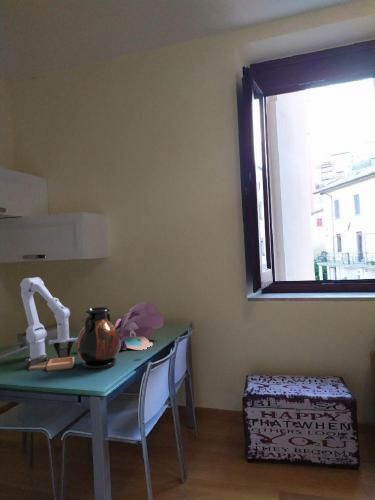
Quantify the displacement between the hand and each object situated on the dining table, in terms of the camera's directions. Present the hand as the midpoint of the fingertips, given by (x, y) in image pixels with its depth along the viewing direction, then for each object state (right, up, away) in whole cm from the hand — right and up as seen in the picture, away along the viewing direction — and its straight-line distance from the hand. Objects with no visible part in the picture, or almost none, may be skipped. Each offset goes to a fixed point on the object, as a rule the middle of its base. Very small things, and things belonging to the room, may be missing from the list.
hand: (64, 356), depth 184 cm
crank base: (-9, -2, -9) cm, 13 cm away
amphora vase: (+22, -1, -12) cm, 25 cm away
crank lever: (-11, -1, -8) cm, 14 cm away
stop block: (0, -2, 0) cm, 2 cm away
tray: (+2, -1, -11) cm, 11 cm away
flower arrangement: (+35, -1, +22) cm, 42 cm away
